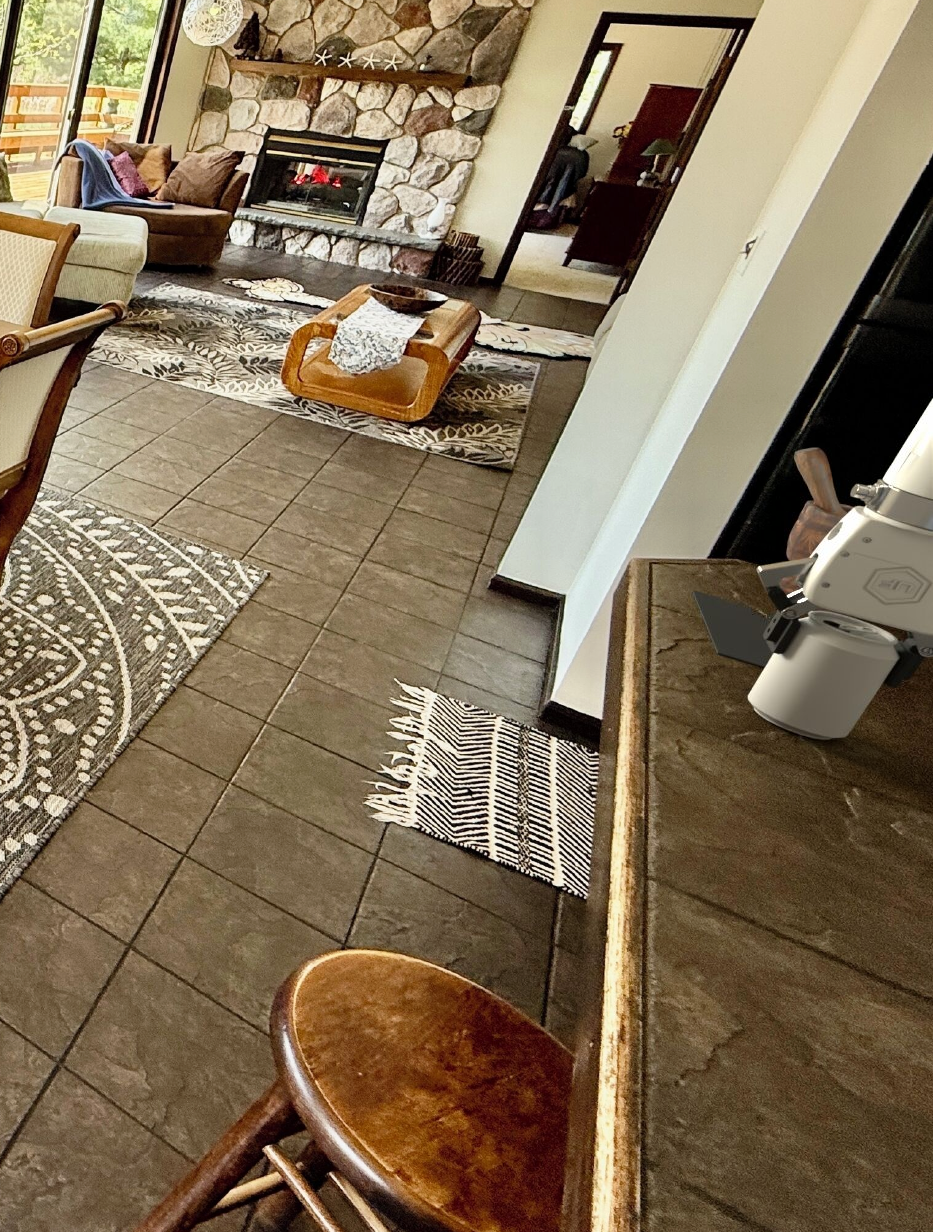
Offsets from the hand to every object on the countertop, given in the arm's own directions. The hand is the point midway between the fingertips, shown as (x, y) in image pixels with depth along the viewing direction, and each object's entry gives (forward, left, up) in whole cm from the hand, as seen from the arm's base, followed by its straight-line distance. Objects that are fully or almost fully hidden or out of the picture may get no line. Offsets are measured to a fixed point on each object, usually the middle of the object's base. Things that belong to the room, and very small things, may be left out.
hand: (828, 663), depth 94 cm
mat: (-2, -23, -7) cm, 24 cm away
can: (0, 0, -7) cm, 7 cm away
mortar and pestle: (-6, -42, -8) cm, 43 cm away
